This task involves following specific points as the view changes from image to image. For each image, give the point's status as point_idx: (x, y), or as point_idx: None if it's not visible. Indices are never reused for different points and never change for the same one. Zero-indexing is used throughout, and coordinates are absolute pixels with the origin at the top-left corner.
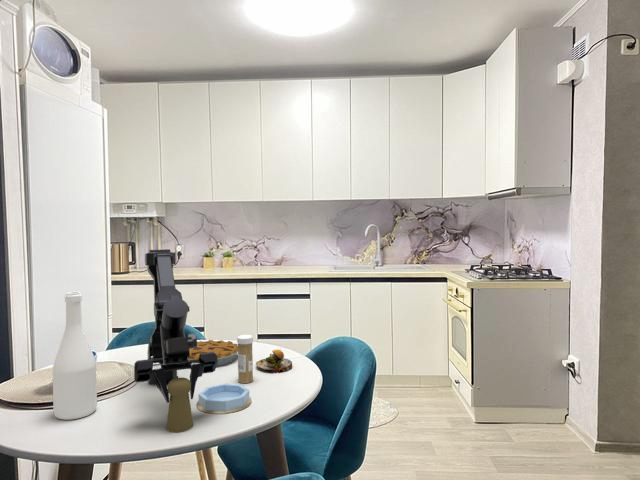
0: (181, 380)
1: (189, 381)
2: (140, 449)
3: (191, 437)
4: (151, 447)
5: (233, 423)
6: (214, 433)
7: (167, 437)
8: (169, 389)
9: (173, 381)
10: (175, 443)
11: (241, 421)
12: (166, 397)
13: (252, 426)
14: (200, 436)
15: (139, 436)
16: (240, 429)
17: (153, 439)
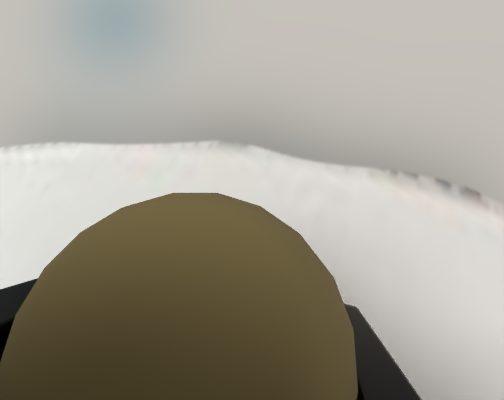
0: (150, 269)
1: (49, 265)
2: (478, 223)
3: (252, 201)
4: (428, 213)
5: (54, 217)
6: (164, 180)
7: (341, 264)
8: (346, 312)
9: (276, 333)
10: (327, 189)
11: (20, 214)
12: (367, 324)
13: (30, 152)
14: (219, 188)
15: (475, 373)
16: (75, 155)
17: (407, 285)
